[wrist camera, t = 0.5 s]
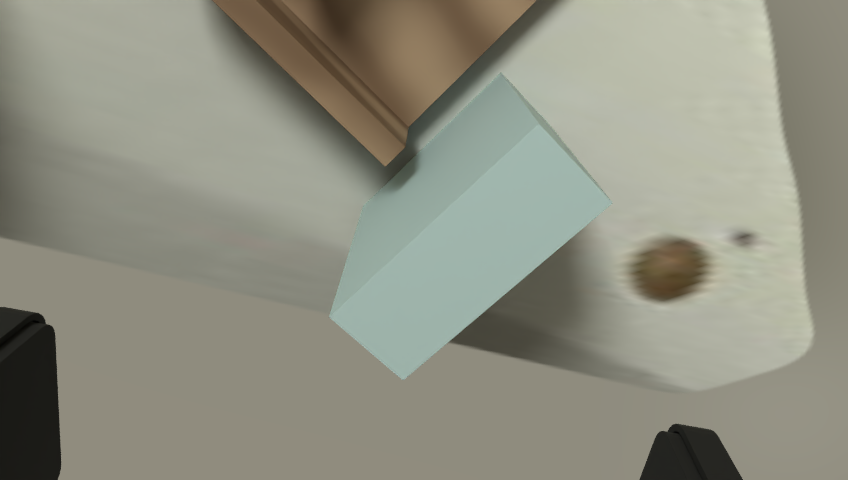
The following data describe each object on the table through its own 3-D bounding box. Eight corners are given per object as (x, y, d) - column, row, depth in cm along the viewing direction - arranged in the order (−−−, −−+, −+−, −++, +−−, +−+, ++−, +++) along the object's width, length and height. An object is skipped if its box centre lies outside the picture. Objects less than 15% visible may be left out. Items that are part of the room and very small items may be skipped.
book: (412, 251, 43) (403, 380, 29) (363, 205, 42) (329, 317, 28) (550, 125, 40) (612, 202, 26) (500, 72, 39) (538, 123, 25)
